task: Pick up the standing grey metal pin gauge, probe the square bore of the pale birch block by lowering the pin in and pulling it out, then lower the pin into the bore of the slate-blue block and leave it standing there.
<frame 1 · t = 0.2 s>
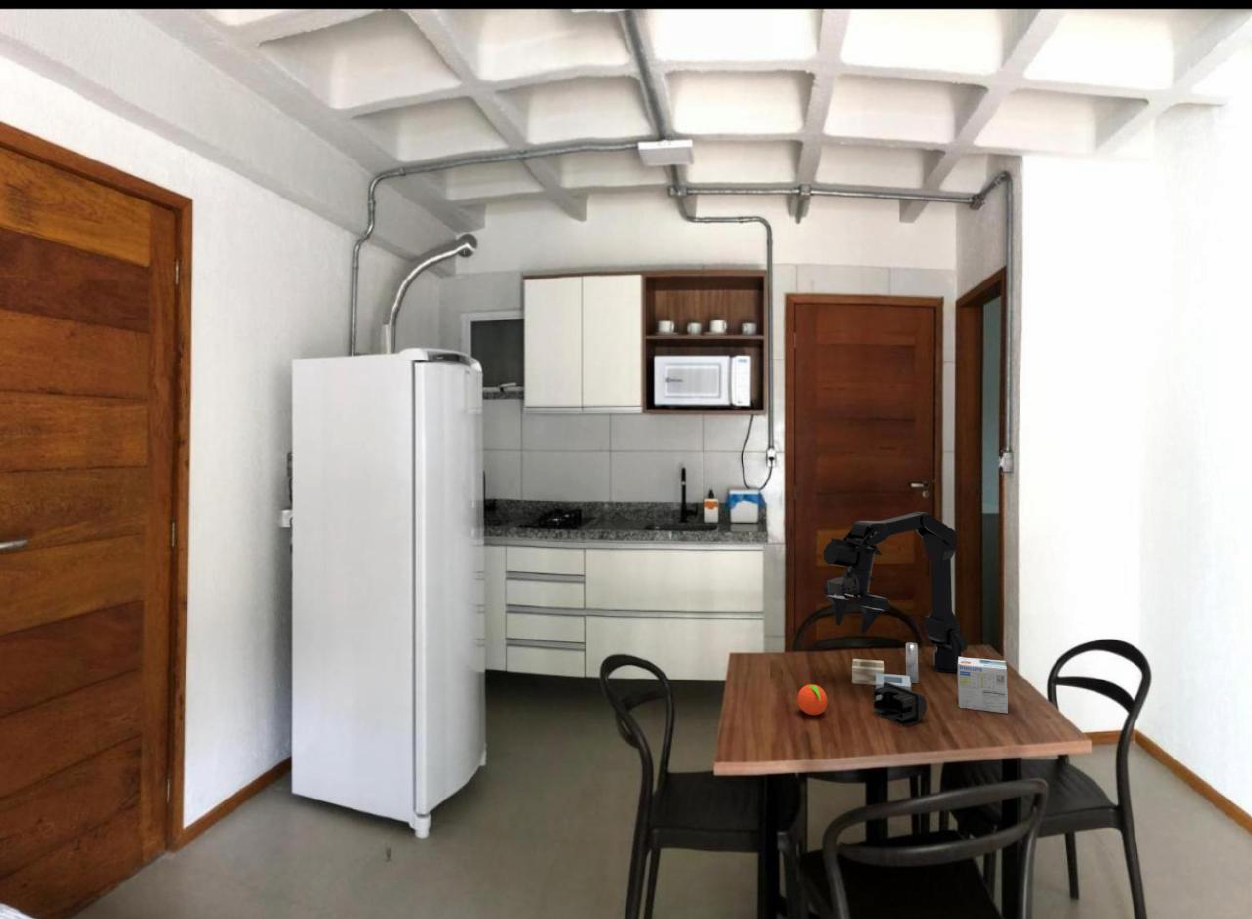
hand: (849, 629, 187), 15 cm above the table, tool pointing down, fingers open, 9 cm apart
birch block: (868, 679, 194), on the table
clementine: (813, 716, 170), on the table
pin gauge: (912, 681, 191), on the table
end cap: (899, 718, 168), on the table
light bulb box: (982, 707, 173), on the table
slate block: (893, 695, 181), on the table
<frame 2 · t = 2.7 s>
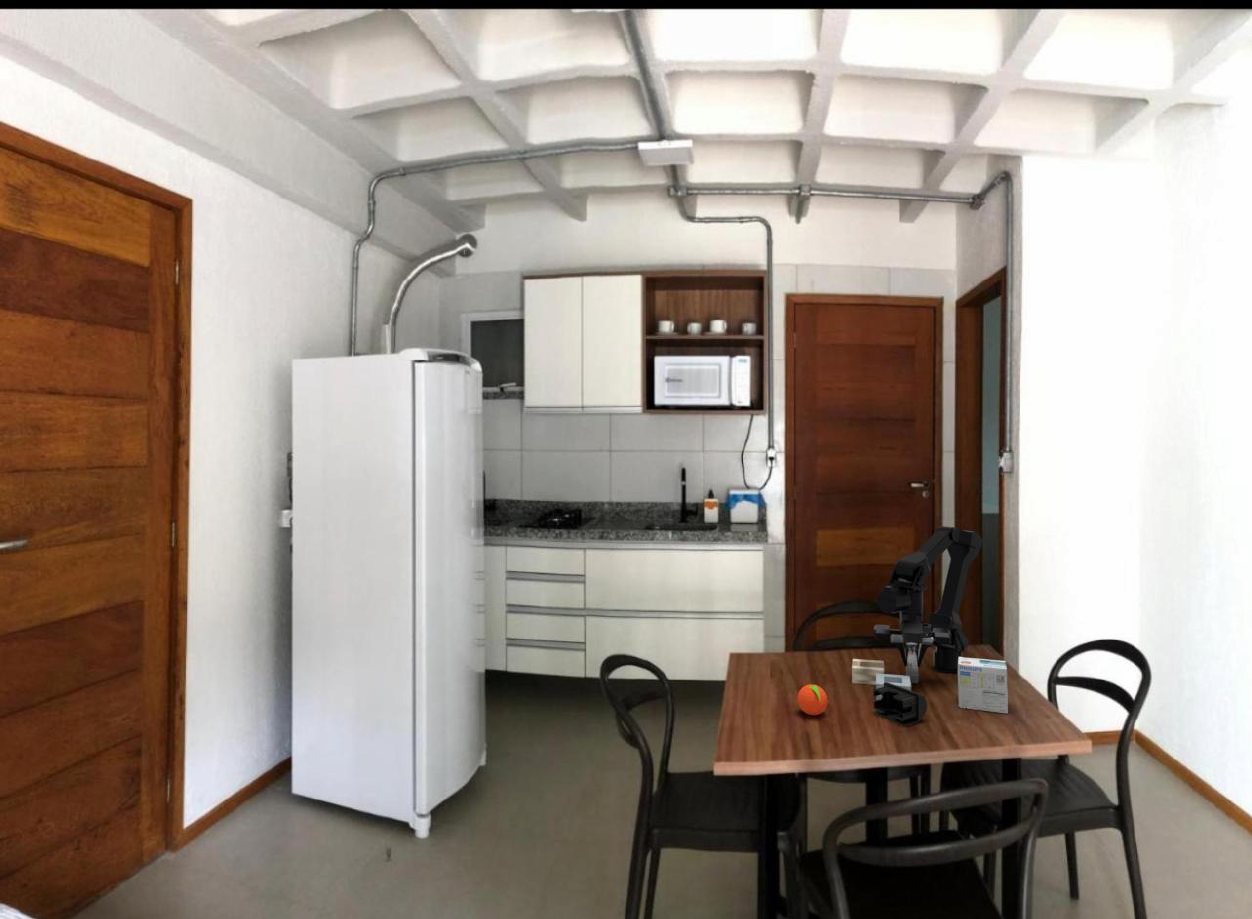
hand: (912, 666, 191), 4 cm above the table, tool pointing down, fingers closed on pin gauge, 3 cm apart
pin gauge: (912, 681, 191), on the table, touching gripper
everything else where it was.
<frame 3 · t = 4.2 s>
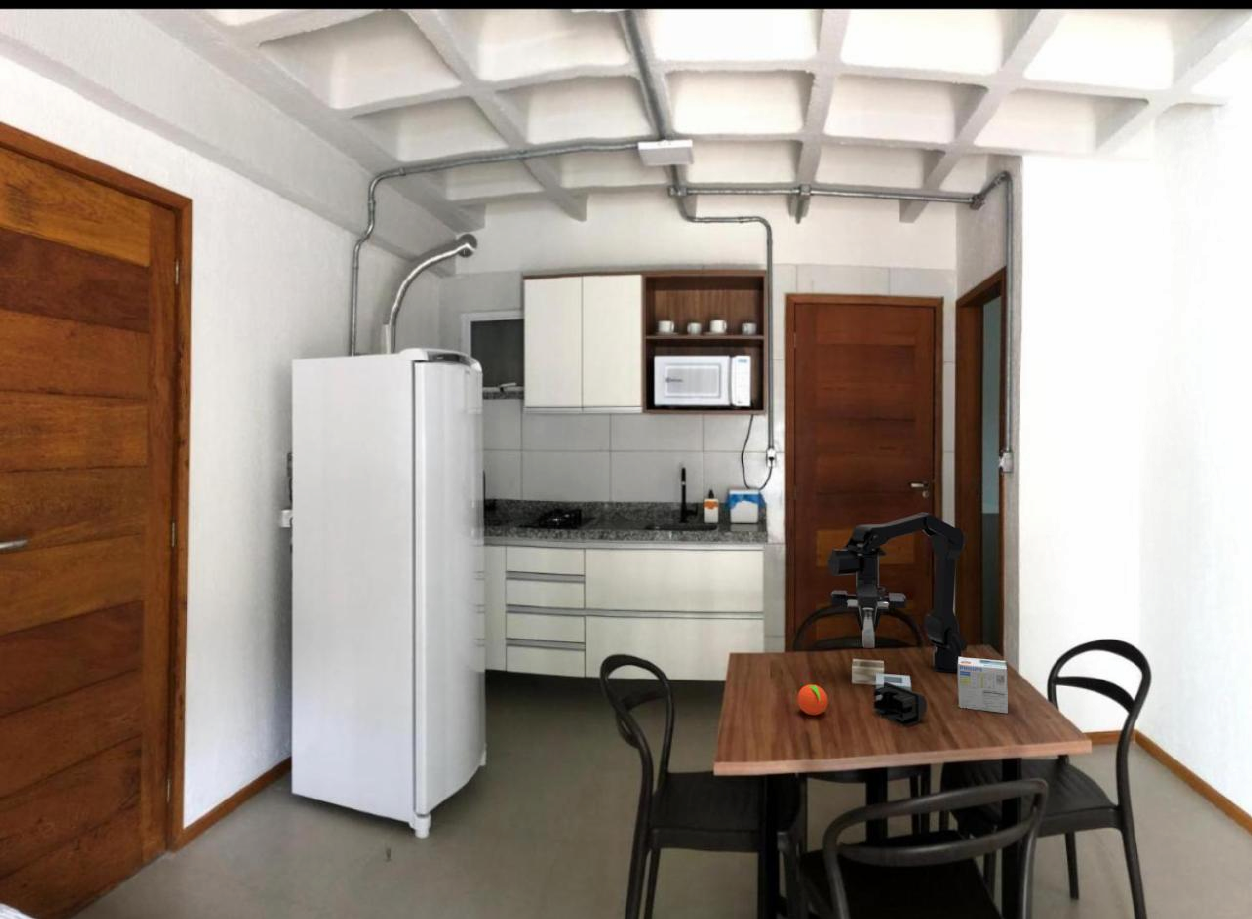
hand: (868, 631, 193), 13 cm above the table, tool pointing down, fingers closed on pin gauge, 3 cm apart
pin gauge: (868, 646, 193), point 9 cm above the table, touching gripper
everything else where it was.
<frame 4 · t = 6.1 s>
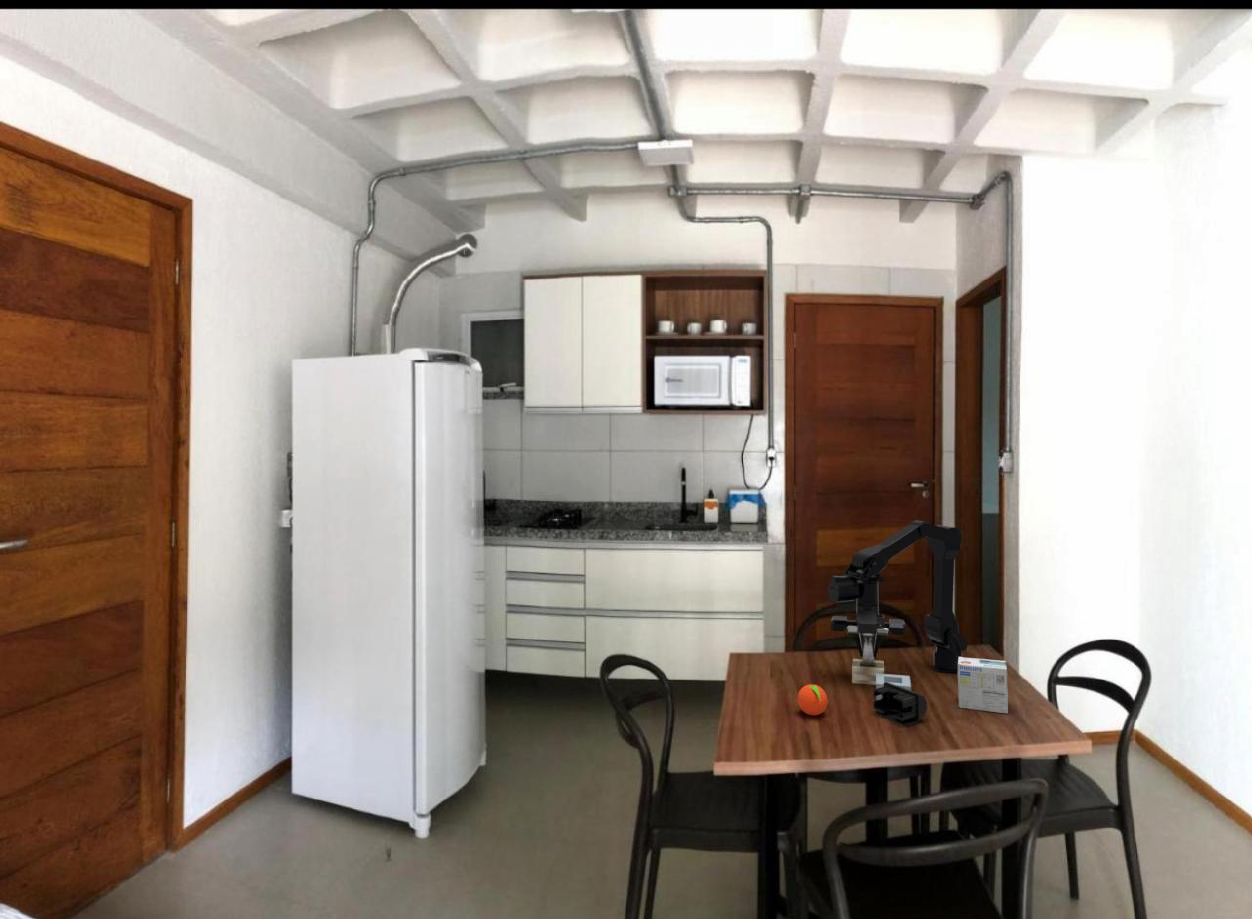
hand: (868, 657, 194), 6 cm above the table, tool pointing down, fingers closed on pin gauge, 3 cm apart
pin gauge: (868, 672, 194), point 2 cm above the table, touching gripper
everything else where it was.
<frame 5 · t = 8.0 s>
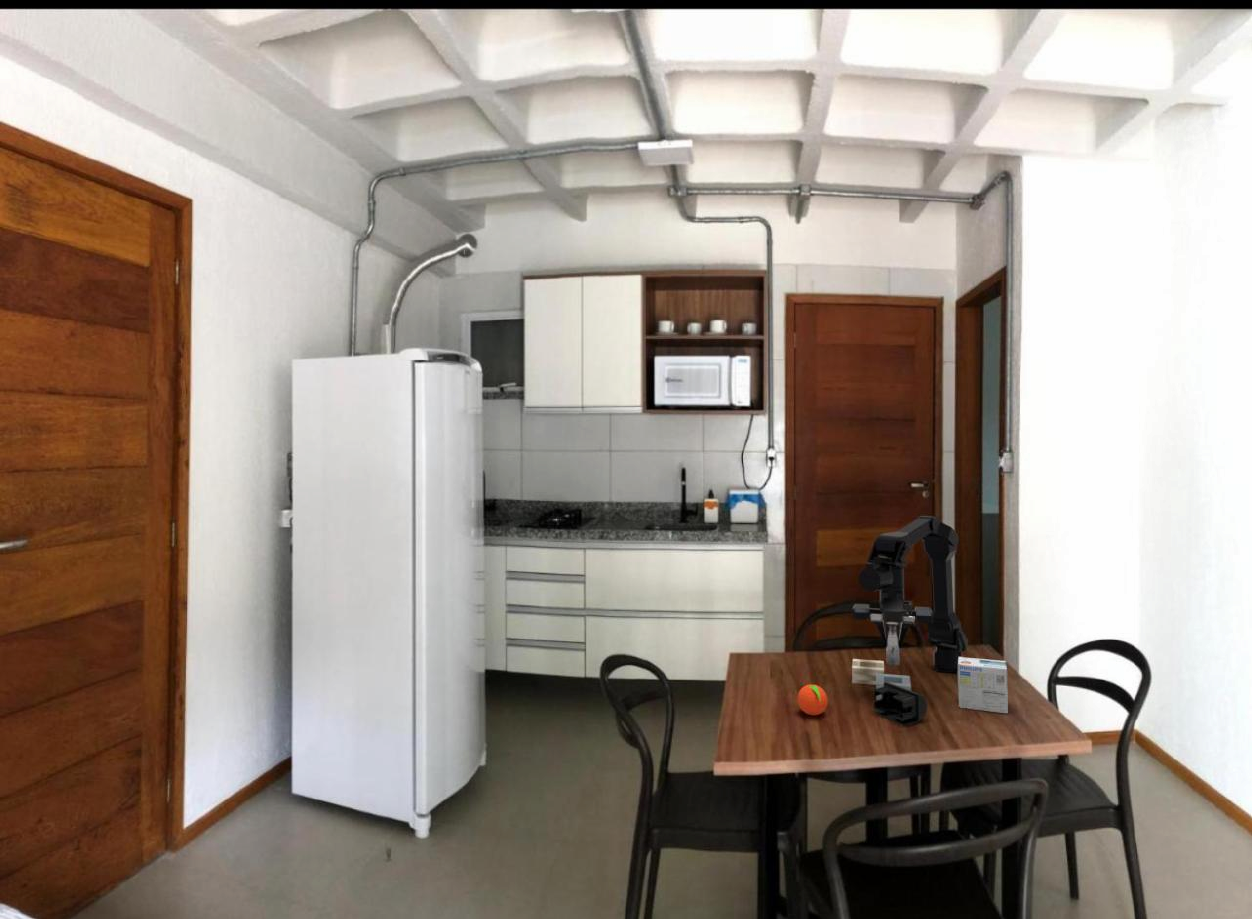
hand: (892, 647, 181), 12 cm above the table, tool pointing down, fingers closed on pin gauge, 3 cm apart
pin gauge: (893, 663, 181), point 8 cm above the table, touching gripper
everything else where it was.
when the fingers open (6 cm above the table, at t = 9.5 s): pin gauge stays where it is, resting on slate block.
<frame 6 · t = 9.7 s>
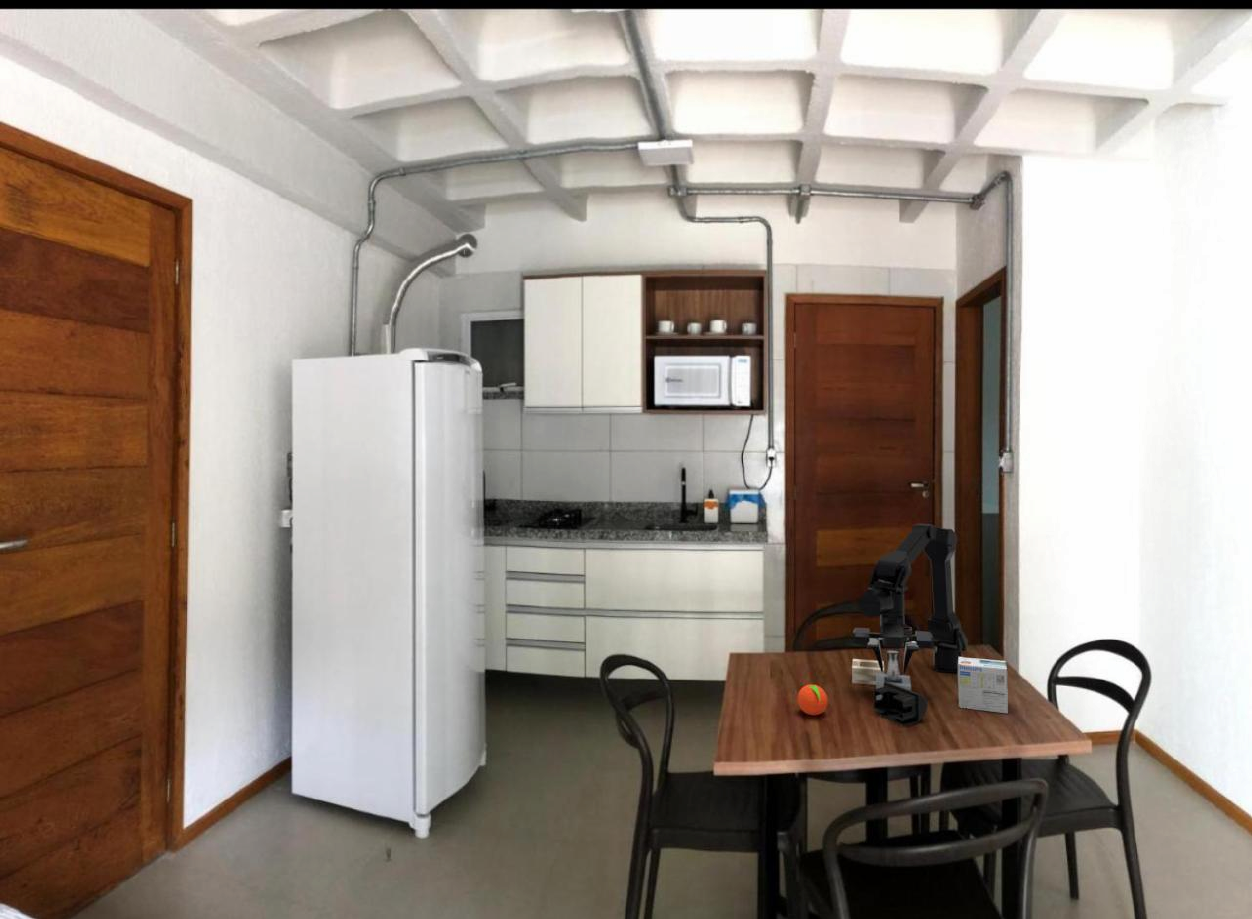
hand: (893, 672, 181), 6 cm above the table, tool pointing down, fingers open, 5 cm apart
pin gauge: (893, 691, 181), point 1 cm above the table, touching slate block
everything else where it was.
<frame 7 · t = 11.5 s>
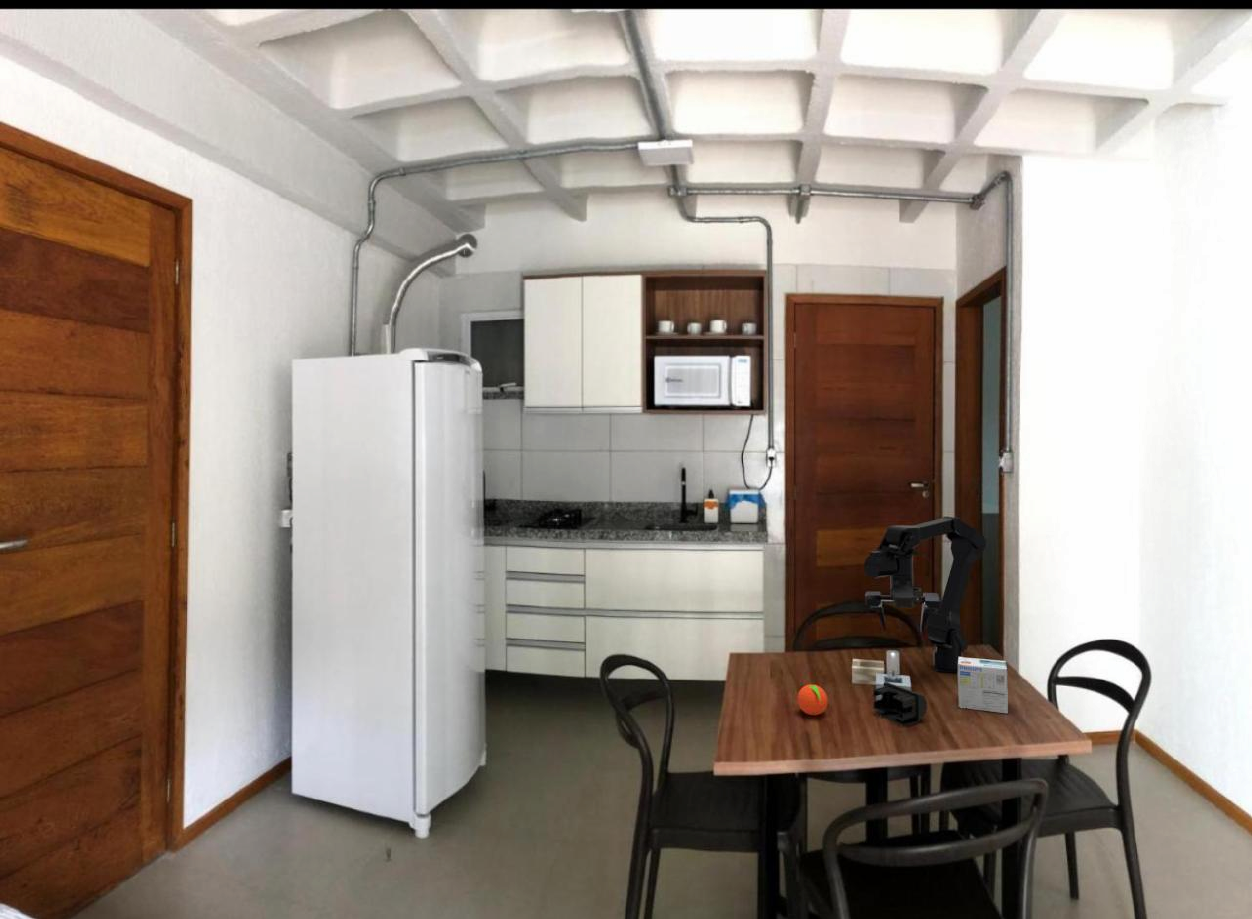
hand: (903, 631, 193), 13 cm above the table, tool pointing down, fingers open, 9 cm apart
nothing on the table moved.
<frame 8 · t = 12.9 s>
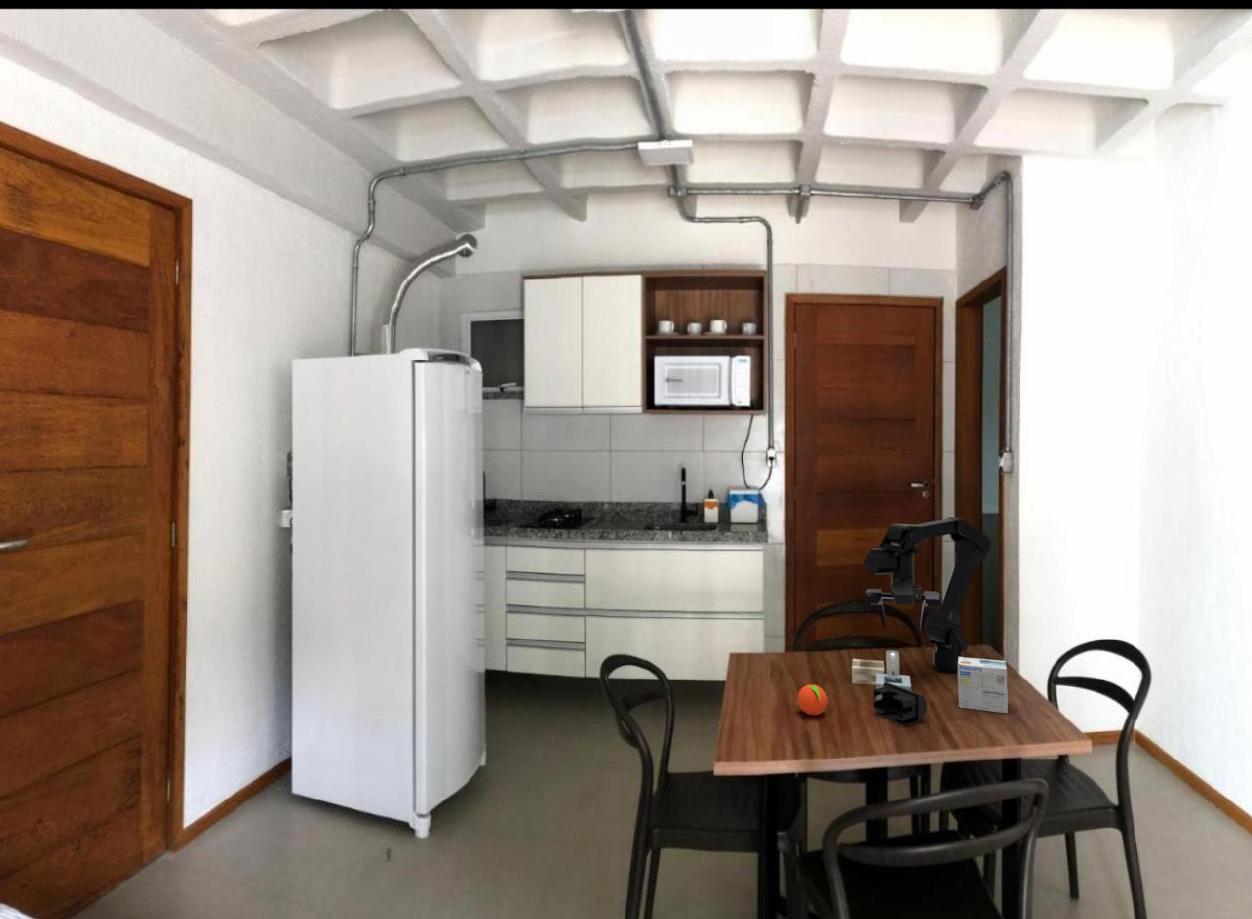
hand: (903, 629, 194), 13 cm above the table, tool pointing down, fingers open, 9 cm apart
nothing on the table moved.
at the end: pin gauge 0.1 cm off-centre on the slate block, point 1.0 cm above the slate block's base; pin gauge tilted 0°; the gripper is holding nothing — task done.
